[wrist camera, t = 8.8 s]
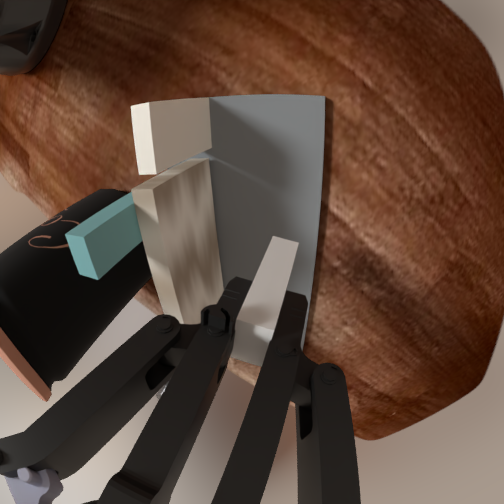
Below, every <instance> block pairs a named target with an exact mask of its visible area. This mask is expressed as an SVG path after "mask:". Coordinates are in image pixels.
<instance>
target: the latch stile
mask: <svg viewBox="0 0 504 504" xmlns="http://www.w3.org/2000/svg"><path fill="white" fill-rule="evenodd" d="M65 236H66V239H67V242H68V244H69V247H70V250H71V253H72V256H73V258H74V261H75V264H76V266H77V269H78V272H79V274H80V275H83V276H87V277H90V278H93V279H97V280H99V279H100V278H101V277H102V276H103V275H104V274H106V273H107V272H108V271H109V270H110V269H111V268H112V267H113V266H114V265H115V264H116V263H118V262H119V261H120V260H121V259H122V258H123V257H124V256H125V255H127V254H128V253H129V252H130V251H131V250H132V249H133V248H135V247H136V246H137V245H138V244H139V243H140V242H141V241H143V240H142V236H141V232H140V228H139V224H138V219H137V215H136V210H135V206H134V201H133V196H132V192H130V193H129V194H127V195H125V196H123V197H122V198H120V199H118V200H117V201H115V202H113V203H112V204H110V205H109V206H107V207H105V208H104V209H102V210H101V211H99V212H97V213H96V214H94V215H93V216H91V217H90V218H88V219H87V220H85V221H84V222H82V223H81V224H79V225H78V226H76V227H75V228H73V229H72V230H70V231H69V232H67V233H66V234H65Z"/></svg>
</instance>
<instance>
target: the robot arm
mask: <svg viewBox="0 0 504 504" xmlns="http://www.w3.org/2000/svg"><path fill="white" fill-rule="evenodd" d="M66 1H67V0H0V74H2V75H8V76H13V75H18V74H23V73H27V72H29V71H31V70H32V69H33V68H34V67H35V66H36V65H37V64H38V63H39V62H40V60H41V59H42V58H43V56H44V55H45V53H46V51H47V50H48V48H49V46H50V44H51V42H52V40H53V38H54V36H55V34H56V31H57V29H58V27H59V24H60V21H61V19H62V16H63V12H64V9H65V5H66ZM298 244H299V243H298V242H294V241H291V240H287V239H283V238H279V237H276V236H273V237H272V239H271V242H270V244H269V246H268V249H267V251H266V253H265V255H264V258H263V260H262V262H261V264H260V267H259V269H258V271H257V274H256V276H255V278H254V280H253V281H251V280H247V279H244V278H240V277H237V276H236V277H235V278H233V279H232V280H230V281H229V282H228V284H227V286H226V288H225V290H224V291H223V293H222V296H221V297H220V299H219V300H218V302H217V304H213V305H208V306H206V307H204V308H203V309H202V310H201V323H199V324H180V323H179V320H178V319H176V318H175V317H174V316H171V315H167V314H162V315H158V316H156V317H154V318H153V319H152V320H150V321H149V322H148V323H147V324H146V325H145V326H143V327H142V328H141V329H140V330H139V331H138V332H136V333H135V334H134V335H133V336H132V337H131V338H129V339H128V340H127V341H126V342H125V343H124V344H122V345H121V346H120V347H119V348H118V349H117V350H115V352H113V353H112V354H111V355H110V356H109V357H108V358H107V359H105V360H104V361H103V362H102V363H101V364H99V365H98V366H97V367H96V368H95V369H94V370H93V371H91V372H90V373H89V374H88V375H87V376H86V377H85V378H84V379H82V380H81V381H80V382H79V383H78V384H77V385H75V386H74V387H73V388H72V389H71V390H70V391H69V392H68V393H66V394H65V395H64V396H63V397H62V398H61V399H60V400H59V401H57V402H56V403H55V404H54V405H53V406H52V407H51V408H50V409H49V410H47V411H46V412H45V413H44V414H43V415H42V416H41V417H40V418H38V419H37V420H36V421H35V422H34V423H33V424H32V425H31V426H30V427H28V428H27V429H26V430H25V431H24V432H21V433H18V434H15V435H12V436H8V437H5V438H1V439H0V474H1V475H4V476H5V479H6V481H7V484H8V486H9V489H10V491H11V494H12V496H13V498H14V500H15V503H16V504H52V501H53V500H54V499H55V498H56V497H57V496H59V495H60V493H61V492H62V491H63V485H62V483H61V482H60V480H62V479H65V478H67V477H69V476H71V475H72V474H74V473H75V472H77V471H78V470H79V469H80V468H82V467H83V466H84V465H85V464H86V463H87V462H88V461H89V460H90V459H91V458H92V457H93V456H94V455H95V454H96V453H97V452H98V451H99V450H100V449H101V448H102V447H103V446H104V445H105V444H106V443H107V442H108V441H110V439H111V438H112V437H113V436H115V434H116V433H117V432H118V431H120V430H121V429H122V427H124V425H126V423H128V422H129V421H130V420H131V419H132V418H133V416H134V415H135V414H136V413H137V412H138V411H139V410H140V409H141V408H142V407H143V406H144V405H145V404H146V403H147V402H148V401H149V400H150V399H151V398H152V397H153V396H154V395H155V394H156V393H157V392H158V391H159V390H160V389H161V388H162V387H163V386H164V385H165V384H166V383H167V382H168V380H169V379H170V378H171V379H170V381H169V383H168V385H167V386H166V388H165V390H164V392H163V394H162V395H161V397H160V399H159V401H158V403H157V405H156V407H155V409H154V410H153V412H152V414H151V416H150V418H149V419H148V421H147V423H146V425H145V427H144V429H143V430H142V433H141V434H140V436H139V438H138V440H137V442H136V443H135V445H134V447H133V449H132V451H131V453H130V455H129V456H128V459H127V460H126V462H125V464H124V466H123V467H122V469H121V470H120V471H119V472H118V473H117V474H115V475H113V476H112V478H111V479H110V480H109V482H108V483H107V485H106V487H105V489H104V491H103V493H102V494H101V496H100V498H99V500H94V501H90V502H87V503H83V504H169V502H170V498H171V494H172V492H173V489H174V487H175V485H176V483H177V480H178V479H179V476H180V474H181V472H182V470H183V468H184V465H185V463H186V461H187V459H188V456H189V454H190V452H191V450H192V447H193V445H194V443H195V440H196V438H197V436H198V434H199V432H200V429H201V427H202V424H203V422H204V420H205V418H206V415H207V413H208V411H209V408H210V406H211V404H212V401H213V399H214V396H215V394H216V392H217V390H218V387H219V385H220V383H221V380H222V378H223V376H224V373H225V371H226V368H227V364H228V360H229V357H230V355H231V358H235V359H238V360H241V361H244V362H247V363H250V364H254V365H257V366H261V370H260V373H259V376H258V379H257V382H256V385H255V388H254V391H253V394H252V397H251V400H250V403H249V405H248V408H247V411H246V414H245V417H244V420H243V422H242V425H241V428H240V431H239V433H238V437H237V439H236V442H235V444H234V447H233V450H232V452H231V455H230V458H229V461H228V463H227V465H226V468H225V471H224V473H223V476H222V478H221V481H220V483H219V486H218V488H217V491H216V493H215V496H214V498H213V500H212V503H211V504H260V502H261V499H262V496H263V493H264V490H265V486H266V484H267V480H268V477H269V474H270V471H271V467H272V464H273V461H274V457H275V454H276V451H277V447H278V444H279V440H280V436H281V433H282V429H283V426H284V422H285V418H286V414H287V410H288V406H289V402H290V401H292V402H294V403H295V408H296V430H297V431H296V432H297V464H298V465H297V469H298V504H361V501H360V486H359V475H358V466H357V456H356V447H355V439H354V431H353V424H352V417H351V410H350V404H349V397H348V391H347V385H346V380H345V375H344V373H343V371H342V370H341V369H340V368H339V367H338V366H336V365H335V364H331V363H323V364H320V365H318V364H316V363H315V362H313V361H311V360H310V359H308V358H307V357H306V356H305V355H304V353H303V352H302V349H301V339H302V334H303V329H304V324H305V319H306V314H307V308H308V301H307V298H306V295H303V294H299V293H295V292H292V291H288V290H286V288H287V285H288V281H289V278H290V274H291V270H292V267H293V263H294V259H295V255H296V252H297V248H298Z"/></svg>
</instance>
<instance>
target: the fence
mask: <svg viewBox="0 0 504 504" xmlns="http://www.w3.org/2000/svg"><path fill="white" fill-rule="evenodd" d="M131 114H132V124H133V133H134V142H135V150H136V157H137V164H138V171H139V175H142V174H158V173H160V172H162V171H164V170H166V169H168V168H170V167H172V166H174V165H176V164H178V163H180V162H182V161H184V160H186V159H188V158H191V157H193V156H195V155H197V154H199V153H201V152H204V151H206V150H208V149H210V148H212V141H211V125H210V108H209V98H189V99H176V100H165V101H156V102H148V103H143V104H138V105H134V106H131Z"/></svg>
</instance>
